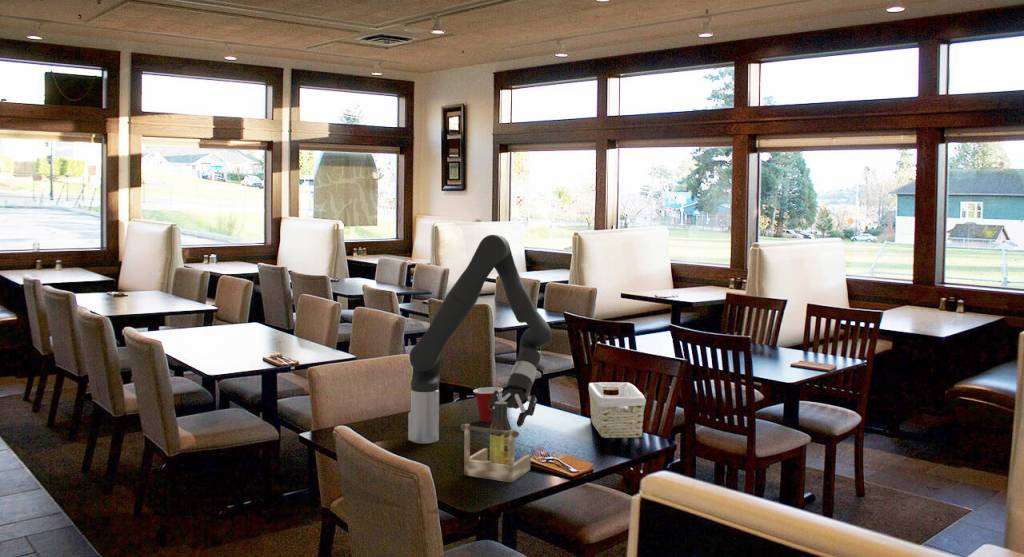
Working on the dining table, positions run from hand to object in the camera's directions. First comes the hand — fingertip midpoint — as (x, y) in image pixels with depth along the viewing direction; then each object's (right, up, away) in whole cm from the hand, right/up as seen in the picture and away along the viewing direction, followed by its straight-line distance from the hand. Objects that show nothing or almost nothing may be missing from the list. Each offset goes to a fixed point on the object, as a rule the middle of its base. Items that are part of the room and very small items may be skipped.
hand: (505, 423), depth 261 cm
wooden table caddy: (-2, -14, -4) cm, 14 cm away
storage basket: (+38, -10, +45) cm, 60 cm away
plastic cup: (-7, -8, +55) cm, 56 cm away
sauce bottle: (-2, -13, -3) cm, 13 cm away
